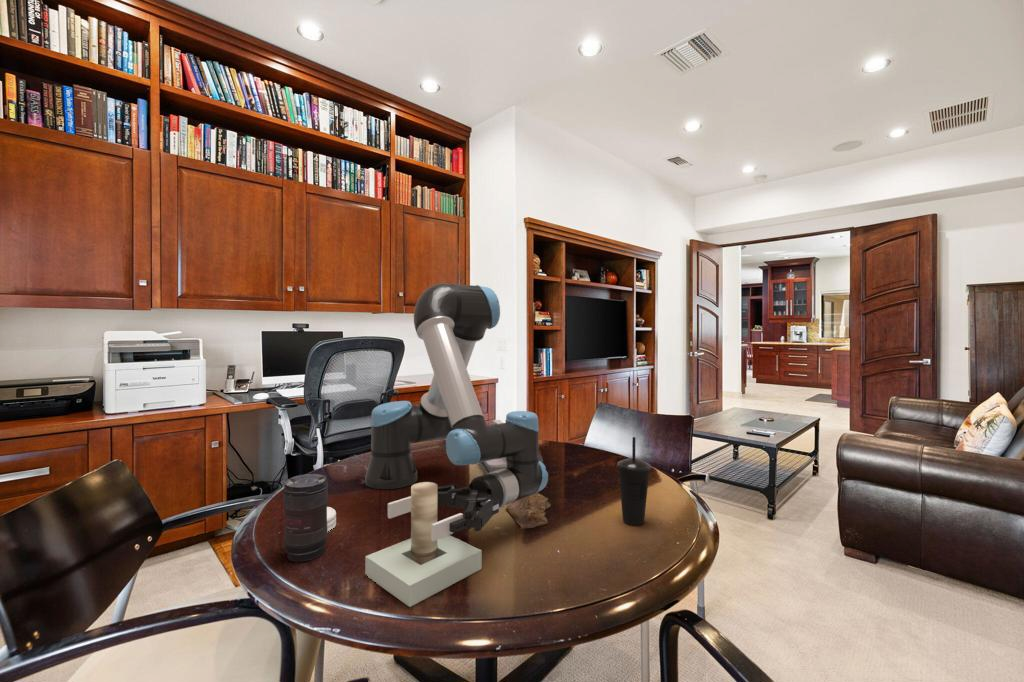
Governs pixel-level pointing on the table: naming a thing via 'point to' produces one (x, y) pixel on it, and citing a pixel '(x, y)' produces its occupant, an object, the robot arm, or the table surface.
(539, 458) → the instant camera
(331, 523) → the coaster
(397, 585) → the board
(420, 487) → the leg
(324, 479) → the camera lens
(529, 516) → the wooden fragment
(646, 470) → the drinking cup
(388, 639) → the table surface
